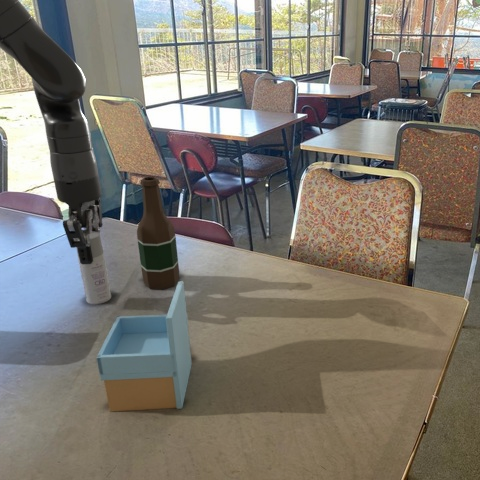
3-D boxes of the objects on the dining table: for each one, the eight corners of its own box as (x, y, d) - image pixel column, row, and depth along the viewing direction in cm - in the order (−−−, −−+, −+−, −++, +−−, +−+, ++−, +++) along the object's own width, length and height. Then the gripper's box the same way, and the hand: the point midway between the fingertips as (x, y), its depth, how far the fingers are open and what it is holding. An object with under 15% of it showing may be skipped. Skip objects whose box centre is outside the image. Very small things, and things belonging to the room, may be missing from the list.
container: (101, 310, 96) (88, 241, 90) (82, 306, 97) (68, 238, 91) (116, 298, 100) (105, 232, 94) (98, 295, 102) (86, 229, 96)
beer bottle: (179, 272, 112) (168, 172, 102) (181, 288, 105) (170, 182, 96) (143, 276, 110) (129, 174, 100) (143, 292, 103) (128, 185, 93)
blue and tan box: (107, 413, 71) (88, 321, 64) (125, 367, 80) (111, 283, 74) (182, 409, 72) (171, 318, 65) (191, 364, 81) (183, 280, 75)
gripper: (68, 163, 94) (83, 243, 101) (37, 185, 81) (57, 274, 88) (108, 163, 95) (121, 242, 102) (84, 184, 82) (100, 273, 89)
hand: (91, 257), depth 95 cm, fingers closed on container, 4 cm apart
